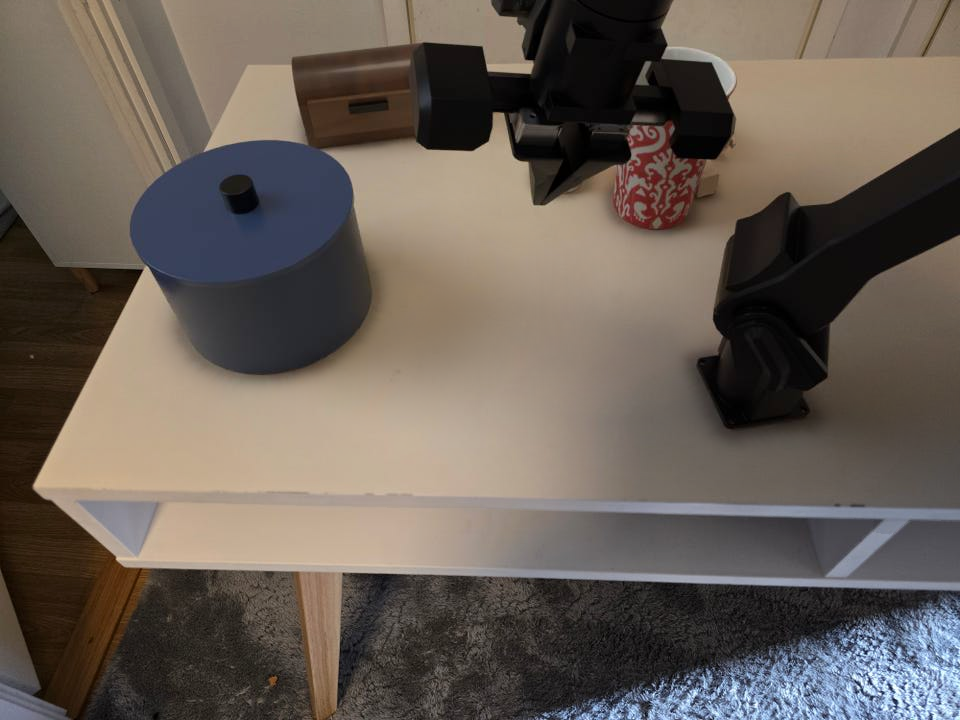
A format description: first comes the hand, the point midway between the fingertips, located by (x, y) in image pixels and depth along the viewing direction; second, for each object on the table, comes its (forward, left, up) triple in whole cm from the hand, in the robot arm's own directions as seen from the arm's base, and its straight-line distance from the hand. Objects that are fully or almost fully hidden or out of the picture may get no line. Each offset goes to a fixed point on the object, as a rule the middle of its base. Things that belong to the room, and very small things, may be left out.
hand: (537, 200), depth 47 cm
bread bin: (+32, +11, -13) cm, 36 cm away
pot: (+7, +21, -13) cm, 25 cm away
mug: (+14, -15, -13) cm, 24 cm away
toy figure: (+20, -21, -13) cm, 32 cm away
